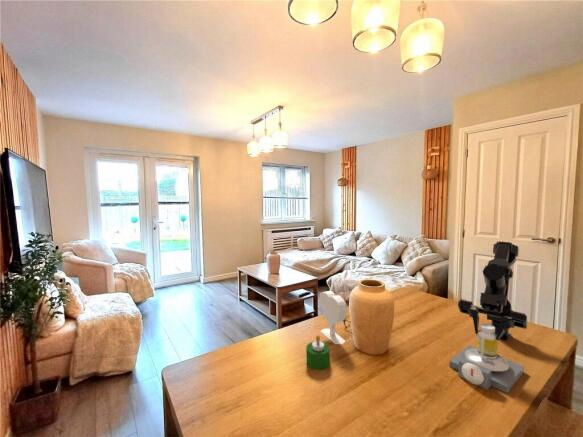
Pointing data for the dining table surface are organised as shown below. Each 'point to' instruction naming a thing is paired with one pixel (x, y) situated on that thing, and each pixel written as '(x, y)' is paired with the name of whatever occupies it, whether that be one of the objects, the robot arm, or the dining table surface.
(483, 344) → the supplement bottle
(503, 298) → the robot arm
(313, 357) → the candle
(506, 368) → the scale pan
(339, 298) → the heart sculpture
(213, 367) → the dining table surface
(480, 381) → the scale housing
